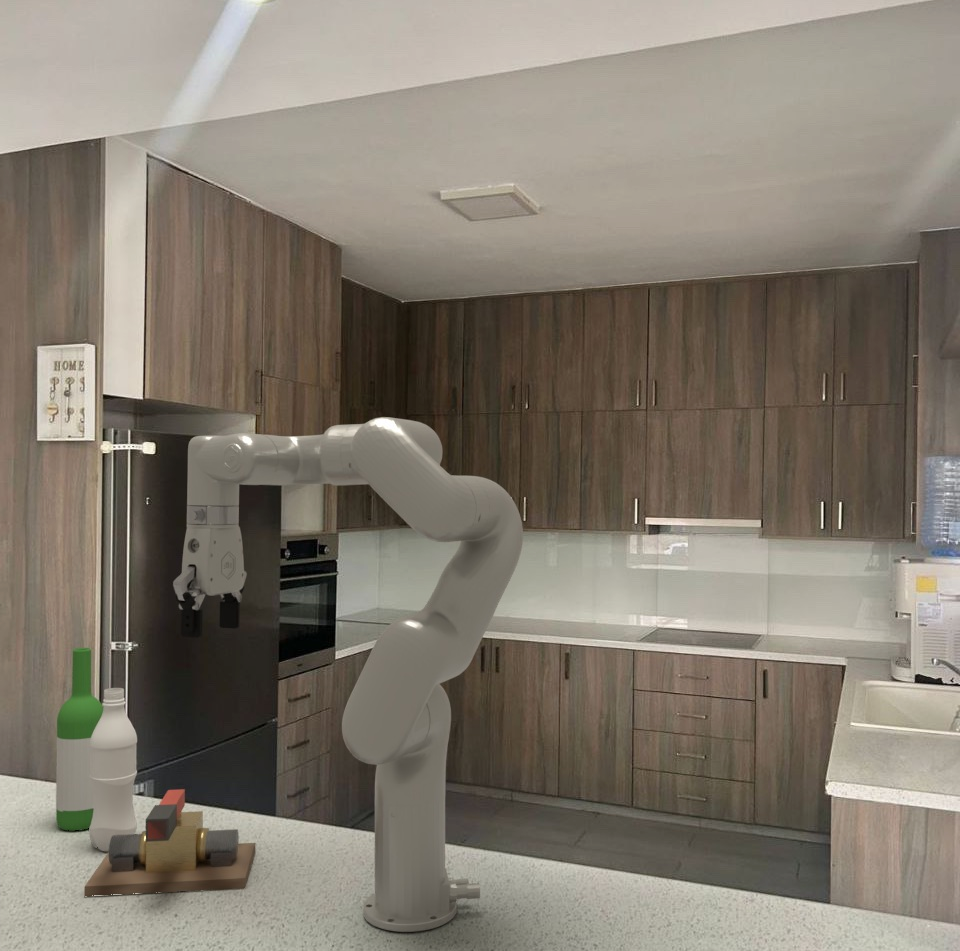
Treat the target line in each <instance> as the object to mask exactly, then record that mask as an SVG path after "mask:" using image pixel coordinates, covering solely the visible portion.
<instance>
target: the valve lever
mask: <svg viewBox="0 0 960 951" xmlns="http://www.w3.org/2000/svg"><path fill="white" fill-rule="evenodd" d="M185 791H186V789H185V788H184V789H183V788H181V789H168V790H167V791H166V792H165V794H164V796H163V798H162V799H161V801H160V802H159V804H155V805H154V806H152V809H151V810H150V812H149V814H148V815H147V816H146V818H145V831H146V842H151V841H169V839H170V837H171V835H172V833H173V831H174V830H175V828H176V826H177V819H179V818H181V813H182V812H183V809H184V808H185V803H186V800H185V799H186V798H185V796H186V794H185V793H186V792H185Z"/></svg>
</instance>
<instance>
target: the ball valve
mask: <svg viewBox="0 0 960 951" xmlns="http://www.w3.org/2000/svg"><path fill="white" fill-rule="evenodd" d="M203 816H204V812H203V810H202V811H201V810H200V811H182V813H181V818H179V819H177V826H176V828H175V830H174V831H173V833H172V835H171V837H170V839H169V841H151V842H146V830H143V831H141V833H135V834H125V835H113V836H112V837H111V840H110V845H109V851H108V852H109V862H110V864H112V872H125V871H134V869H135V867H136V866H137V864H138V863H140V865H146V873H156V872H175V871H195V870H196V868H197V866H198V864H199V862H207V861H208V859H211V867H223V866H232V863H233V860H234V858H237V854H238V844H239V839H240V838H239V829H238V828H237V829H234V828H233V829H217V830H216V829H215V830H213V829H211V830H210V828H209V827H204V826H203V825H204V824H203V822H204V820H203V819H204V817H203Z"/></svg>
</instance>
